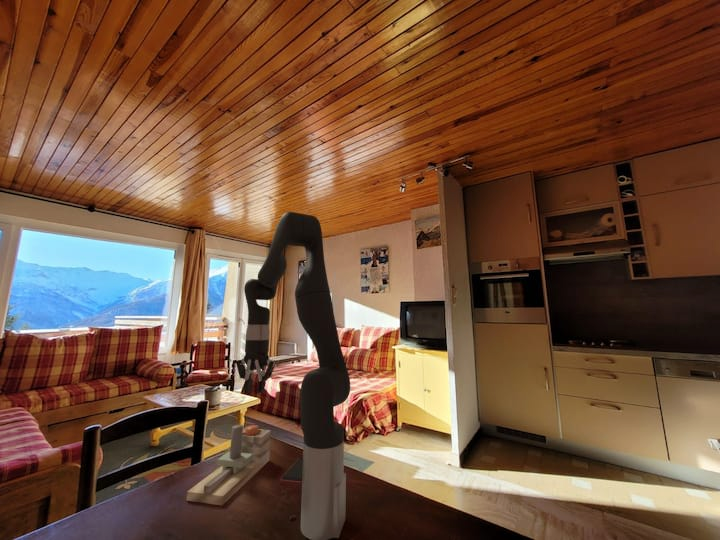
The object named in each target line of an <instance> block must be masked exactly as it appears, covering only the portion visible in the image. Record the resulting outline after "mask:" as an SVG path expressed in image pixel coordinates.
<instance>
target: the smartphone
mask: <svg viewBox="0 0 720 540" xmlns="http://www.w3.org/2000/svg"><path fill="white" fill-rule="evenodd" d="M302 472H303V456H300V457H298V458H297V459H296V461H295V462H294V463H293V464H292V465H291V466H290V467H289V468H288V470H286V472H285V473H284V474H283V475H282V476H281V477H280V479H279V480H280V481H282V482H289V483H290V482H291V483H298V484H302Z"/></svg>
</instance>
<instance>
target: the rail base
mask: <svg viewBox="0 0 720 540" xmlns="http://www.w3.org/2000/svg"><path fill="white" fill-rule="evenodd" d="M245 428H246V427H243V434H242V448H241V453H249V454H253V458H252V461H250V462H249V463H248V464H247V465H246V466H245V467H243V468H242V469H241V470H239V471H238V472H237V473H236V474H235V473H233V467H227V468H226V469H225V470H223V466H219V467H218V468H217V469H215V470H214V471H212V473H210V474H209V475H207V476H206V477H205V478H203V479H202V480H200V481H199V482H198V483H197V484H195V485H194V486H192V487H191V488H190V489H189V490H187V492H186V501H189V502H193V503H194V502H196V503H203V504H209V505H214V506H215V505H217V506H223V505H224V504H225V503H226V502H228V501H229V499H231V498H232V497H233V495H235V494H236V493H237V492H238V491H239V490H240V489H241V488H242V487H243V486H245V485H246V483H247V482H249V480H251V478H253V477H254V476H255V475H256V474H257V473H258V472H259V471H260V470H261V469H263V467H264V466H265V465H266V464H267V463H268V462H269V461H270V452H271V451H270V449H271V434H272V433H271V432H272V430H271V429H262V428H261V429H258V434H257V435H256V436H246V435H245ZM222 470H223V471H222Z"/></svg>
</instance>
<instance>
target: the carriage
mask: <svg viewBox="0 0 720 540" xmlns="http://www.w3.org/2000/svg"><path fill="white" fill-rule="evenodd" d="M243 428H244V426H243V425H242V424H236V425H232V426H231V436H230V448H229V449H230V450H229V451H226V453H224V454H223V455H221V456H220V457H218V458H217V460H216V466H219V467H221V466H223V470H225V469H226V468H227V467H233V473H235V474H236V473H237V472H238V471H239V470H241V469H242V468H243V467H245V466H246V465H247V464H248V463H249V462H250V461H252V458H253V454H249V453H241V448H242V434H243ZM223 470H222V471H223Z"/></svg>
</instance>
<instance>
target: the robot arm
mask: <svg viewBox="0 0 720 540" xmlns="http://www.w3.org/2000/svg"><path fill="white" fill-rule="evenodd" d="M288 246H291V247H303V248H304V250H305V255H306V256H305V258H306V260H305V261H306V262H305V266H304V269H303V271H302V274H301V275H300V278H299V279H298V282H297V284H296V287H295V290H294V297H295V298H294V300H295V306H296V312H297V313H296V314H297V318H298V320H299V323H300V324H301V327H303V329H304V331H305V332H306V335H308V338H310V340H311V342H312V343H313V346H314V348H315V350H316V355H317V359H318V367H319V368H314V369H311V370H309V371H308V372H307V373H306V374H305V375H304V377H303V379H302V382H301V384H300V394H299V395H300V396H299V401H300V409H299V410H300V428H301V431H302V434H303V446H302V457H303V472H302V483H301V501H300V503H301V504H300V505H301V506H300V508H301V509H300V532H301V534H302V535H303V536H304V537H305V538H307V539H309V540H331V539H339V538H340V536H341V533H342V530H343V527H344V525H345V521H346V503H347V502H346V501H347V500H346V499H347V497H346V496H347V493H346V491H347V488H346V486H347V485H346V484H347V473H346V472H345V471H344V469H345V468H344V465H345V464H344V462H345V461H344V460H345V459H344V457H345V452H344V451H345V429H344V428H345V427H344V426H343V425H342V424H341V423H339V422H337V421H335V413H334V412H335V411H334V409H335V407H337V406H339V405H341V404H343V403H344V402H345V401H347V399H348V398H349V396H350V393H351V380H350V379H351V378H350V375H349V370H348V367H347V364H346V360H345V357H344V353H343V350H342V347H341V342H340V339H339V334H338V333H339V332H338V328H337V324H336V323H337V322H336V317H335V311H334V305H333V299H332V295H331V289H330V286H329V279H328V276H327V270H326V263H325V262H326V261H325V254H324V243H323V231H322V227H321V222H320V221H319V219H318V217H316V216H314V215H312V214H304V213H299V212H294V211H286V212H285V213H284V214H282V216H281V217H280V219H279V221H278V222H277V226H276V228H275V232H274V234H273V238H272V241H271V244H270V247H269V249H268V250H269V251H268V253H267V257H266V259H265V260H264V262H263V264H262V266H261V268H260V269H259V271H258V273H257V279H256V278H250V279H248V280H247V281H246V282H245V284H244V287H243V288H244V289H243V290H244V297H245V300H246V306H247V312H248V314H247V326H246V332H245V346H244V352H245V354H244V357H243V358H242V359H241V358H240V359H238V360H236V361H235V364H236V368H237V372H238V376H239V378H240V379H243V380H244V390H245V393H250V392H252V386H253V379H252V378H253V374H254V372H255V371H256V374H257V378H258V381H257V394H262V393H263V391H264V390H265V382H266V380H268V379H270V378H271V377H272V375H273V372H274V370H275V367H276V365H277V361H276V359H275V360H272V359H270V356H269V351H270V349H269V348H270V331H271V329H270V319H271V318H270V317H271V310H270V308H269V307H266V306H262V305H260V304H259V303H258V302H257V301H271V300H273V299H274V298H275V297H276V295H277V290H278V284H279V282H280V280H281V279H282V277H283V276H284V275H285V273H286V270H287V265H288V264H287V259H286V256H285V252H284V251H285V249H286V248H287V247H288ZM266 366H267V368H266Z"/></svg>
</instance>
